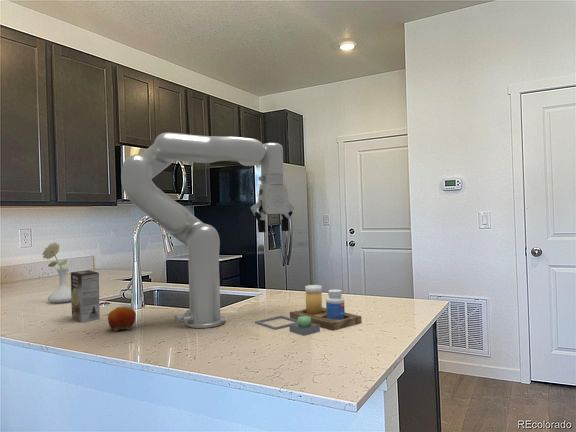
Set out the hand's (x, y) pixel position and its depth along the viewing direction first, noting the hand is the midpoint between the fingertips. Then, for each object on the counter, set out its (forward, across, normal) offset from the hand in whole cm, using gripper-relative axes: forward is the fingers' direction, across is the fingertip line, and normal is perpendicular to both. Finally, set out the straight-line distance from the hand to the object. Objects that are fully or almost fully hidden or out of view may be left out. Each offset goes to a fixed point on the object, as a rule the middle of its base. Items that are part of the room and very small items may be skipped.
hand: (273, 231), depth 143 cm
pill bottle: (+27, +4, -24) cm, 37 cm away
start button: (+25, -8, -24) cm, 36 cm away
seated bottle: (+27, +4, -15) cm, 31 cm away
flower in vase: (+28, -49, +83) cm, 101 cm away
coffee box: (+28, -49, +43) cm, 71 cm away
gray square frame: (+28, -8, -12) cm, 32 cm away
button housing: (+28, -8, -24) cm, 38 cm away
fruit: (+29, -44, +20) cm, 56 cm away
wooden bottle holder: (+28, +4, -20) cm, 35 cm away
